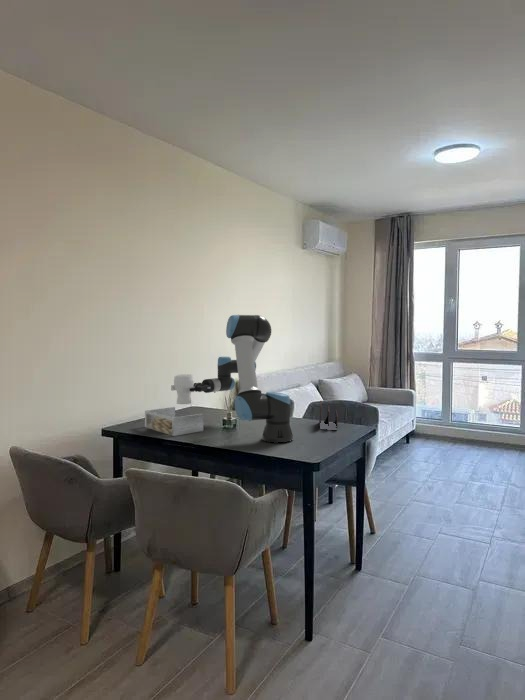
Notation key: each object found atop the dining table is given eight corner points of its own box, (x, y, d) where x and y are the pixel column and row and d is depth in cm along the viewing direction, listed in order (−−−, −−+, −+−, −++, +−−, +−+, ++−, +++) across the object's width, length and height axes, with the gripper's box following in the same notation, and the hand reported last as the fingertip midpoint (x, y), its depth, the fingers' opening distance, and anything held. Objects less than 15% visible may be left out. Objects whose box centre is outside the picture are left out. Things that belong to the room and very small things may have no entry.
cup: (190, 405, 261) (190, 376, 260) (170, 404, 263) (170, 376, 262) (196, 402, 271) (196, 374, 270) (177, 401, 273) (177, 373, 272)
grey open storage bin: (203, 433, 259) (203, 413, 259) (173, 438, 247) (173, 418, 246) (173, 424, 279) (173, 406, 279) (144, 429, 267) (144, 410, 266)
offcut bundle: (176, 432, 254) (176, 421, 253) (170, 433, 251) (170, 422, 251) (157, 427, 267) (157, 416, 266) (152, 428, 264) (152, 416, 264)
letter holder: (318, 430, 269) (319, 404, 269) (319, 423, 289) (319, 398, 288) (337, 431, 268) (338, 405, 268) (336, 423, 288) (337, 399, 287)
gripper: (223, 394, 271) (190, 398, 255) (198, 390, 287) (165, 393, 272) (224, 380, 270) (190, 384, 255) (198, 377, 287) (165, 379, 271)
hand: (177, 389), depth 263 cm, fingers closed on cup, 10 cm apart
